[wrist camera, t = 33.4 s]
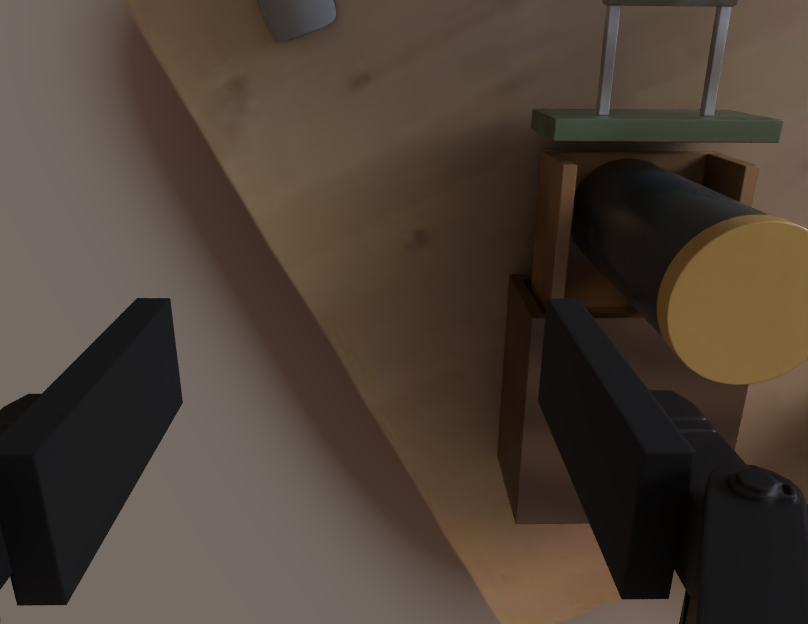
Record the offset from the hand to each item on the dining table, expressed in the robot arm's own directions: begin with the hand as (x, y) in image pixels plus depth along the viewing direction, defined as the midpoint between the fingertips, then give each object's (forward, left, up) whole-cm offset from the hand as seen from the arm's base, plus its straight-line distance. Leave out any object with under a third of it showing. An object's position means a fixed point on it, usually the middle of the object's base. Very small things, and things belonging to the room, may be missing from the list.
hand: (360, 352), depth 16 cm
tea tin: (+9, +13, -28) cm, 32 cm away
